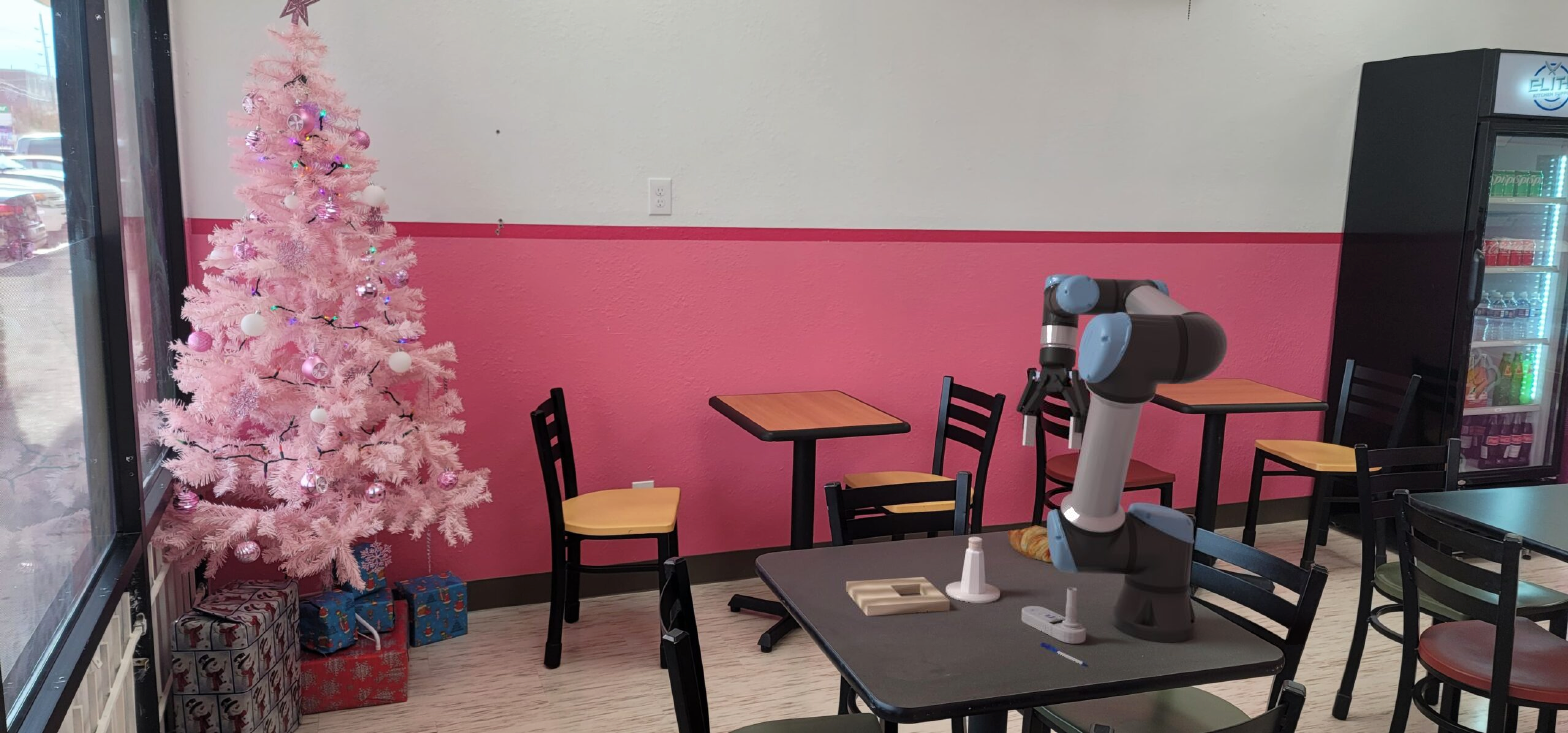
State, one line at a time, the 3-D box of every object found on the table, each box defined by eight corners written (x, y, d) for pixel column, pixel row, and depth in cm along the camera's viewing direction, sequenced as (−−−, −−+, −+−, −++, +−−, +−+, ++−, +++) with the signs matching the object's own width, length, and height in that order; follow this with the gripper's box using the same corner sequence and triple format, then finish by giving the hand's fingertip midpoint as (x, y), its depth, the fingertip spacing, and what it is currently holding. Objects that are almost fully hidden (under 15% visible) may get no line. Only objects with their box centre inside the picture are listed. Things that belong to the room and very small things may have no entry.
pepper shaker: (966, 595, 208) (968, 543, 207) (955, 586, 213) (957, 535, 212) (990, 593, 209) (993, 541, 208) (979, 584, 215) (981, 533, 213)
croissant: (1078, 581, 231) (1093, 549, 232) (1050, 566, 226) (1065, 534, 227) (1015, 552, 250) (1029, 523, 250) (988, 538, 245) (1002, 508, 246)
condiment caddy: (949, 610, 202) (949, 600, 201) (867, 615, 198) (867, 606, 197) (923, 586, 215) (923, 577, 215) (846, 591, 211) (846, 581, 211)
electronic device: (1038, 568, 200) (1093, 591, 186) (1037, 617, 201) (1091, 643, 188) (1017, 572, 198) (1071, 595, 184) (1015, 621, 199) (1069, 648, 185)
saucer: (1009, 601, 207) (1009, 597, 207) (958, 605, 205) (958, 601, 205) (986, 583, 218) (986, 579, 218) (937, 586, 215) (937, 582, 215)
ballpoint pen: (1038, 647, 185) (1039, 641, 185) (1042, 646, 186) (1042, 640, 186) (1085, 668, 177) (1085, 662, 177) (1088, 667, 177) (1089, 661, 177)
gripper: (1115, 348, 209) (1108, 451, 208) (1030, 352, 231) (1023, 446, 229) (1089, 343, 206) (1081, 448, 204) (1005, 347, 227) (997, 443, 226)
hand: (1050, 447), depth 217 cm, fingers open, 13 cm apart
